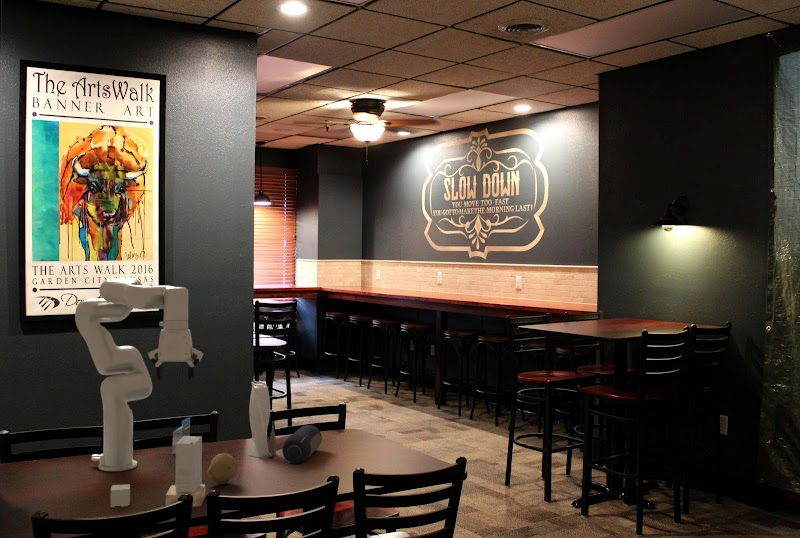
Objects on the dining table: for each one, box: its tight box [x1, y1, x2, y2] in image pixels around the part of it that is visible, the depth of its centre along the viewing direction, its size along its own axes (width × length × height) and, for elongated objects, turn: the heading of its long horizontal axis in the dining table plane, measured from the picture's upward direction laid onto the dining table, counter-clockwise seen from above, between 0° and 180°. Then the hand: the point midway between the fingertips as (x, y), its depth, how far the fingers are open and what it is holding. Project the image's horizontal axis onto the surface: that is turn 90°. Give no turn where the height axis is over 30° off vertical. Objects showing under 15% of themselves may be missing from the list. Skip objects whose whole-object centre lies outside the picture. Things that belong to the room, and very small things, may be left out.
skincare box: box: [174, 435, 203, 493], centre depth 233 cm, size 8×6×15 cm
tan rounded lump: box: [206, 452, 238, 485], centre depth 250 cm, size 9×9×10 cm
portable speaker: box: [281, 424, 323, 464], centre depth 287 cm, size 25×10×10 cm, turn 172°
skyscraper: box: [248, 380, 277, 460], centre depth 287 cm, size 8×8×28 cm
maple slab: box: [165, 483, 206, 507], centre depth 233 cm, size 10×10×4 cm
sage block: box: [110, 483, 131, 508], centre depth 230 cm, size 5×5×5 cm
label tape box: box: [171, 416, 191, 455], centre depth 292 cm, size 9×4×12 cm, turn 178°
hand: (175, 378), depth 252 cm, fingers open, 9 cm apart
